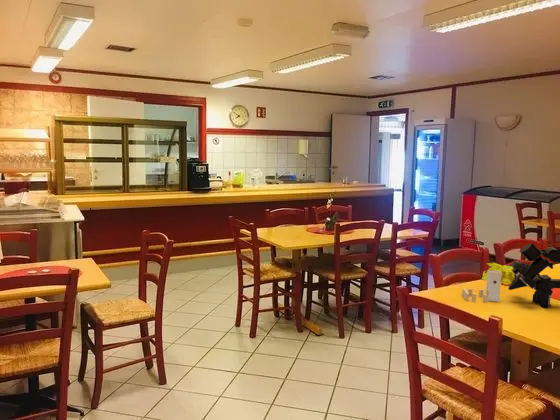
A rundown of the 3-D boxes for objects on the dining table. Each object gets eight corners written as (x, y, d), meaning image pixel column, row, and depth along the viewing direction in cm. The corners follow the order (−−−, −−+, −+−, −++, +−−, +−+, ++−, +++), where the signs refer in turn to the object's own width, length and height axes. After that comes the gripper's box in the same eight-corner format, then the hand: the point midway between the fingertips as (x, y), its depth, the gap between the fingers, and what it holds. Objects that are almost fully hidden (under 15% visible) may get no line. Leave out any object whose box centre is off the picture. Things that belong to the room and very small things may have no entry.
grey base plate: (498, 298, 229) (499, 289, 229) (505, 306, 218) (506, 297, 217) (461, 296, 233) (462, 287, 232) (466, 303, 221) (467, 294, 220)
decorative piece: (535, 264, 270) (534, 276, 244) (533, 277, 271) (532, 290, 245) (486, 259, 283) (480, 269, 257) (485, 271, 284) (479, 283, 258)
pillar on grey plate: (496, 298, 226) (498, 270, 224) (499, 301, 221) (501, 273, 219) (485, 297, 227) (487, 270, 225) (487, 301, 222) (490, 272, 220)
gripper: (517, 251, 228) (492, 272, 232) (529, 259, 210) (502, 282, 213) (533, 267, 228) (508, 288, 231) (547, 277, 209) (519, 299, 213)
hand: (509, 289), depth 222 cm, fingers closed
